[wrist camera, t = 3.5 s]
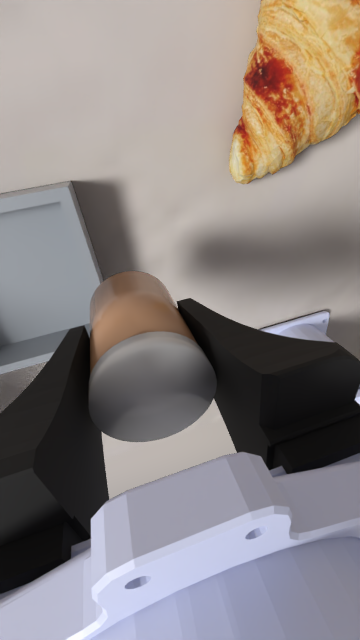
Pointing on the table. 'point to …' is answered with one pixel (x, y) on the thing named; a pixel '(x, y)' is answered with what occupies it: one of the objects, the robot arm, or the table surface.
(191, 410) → the shaker
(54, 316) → the bin
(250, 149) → the croissant
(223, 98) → the table surface
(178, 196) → the table surface
